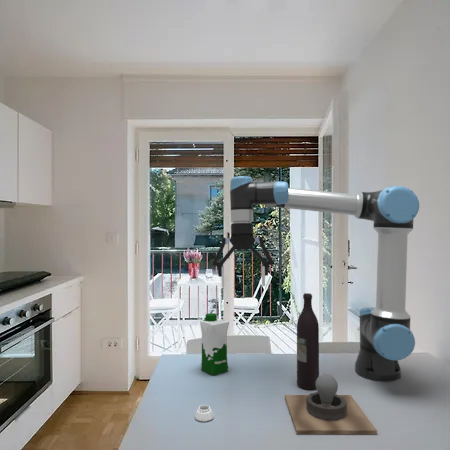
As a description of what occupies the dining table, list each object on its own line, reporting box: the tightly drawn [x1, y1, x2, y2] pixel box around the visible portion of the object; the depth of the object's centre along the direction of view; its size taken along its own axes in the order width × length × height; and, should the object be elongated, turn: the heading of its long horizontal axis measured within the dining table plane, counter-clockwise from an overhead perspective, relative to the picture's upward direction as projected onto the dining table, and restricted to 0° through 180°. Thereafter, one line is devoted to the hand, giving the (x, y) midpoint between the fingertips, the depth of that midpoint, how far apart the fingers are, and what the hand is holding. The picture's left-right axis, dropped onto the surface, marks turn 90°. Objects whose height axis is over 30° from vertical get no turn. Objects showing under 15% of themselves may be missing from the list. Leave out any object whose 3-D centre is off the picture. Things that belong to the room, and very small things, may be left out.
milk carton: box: [199, 312, 230, 377], centre depth 136 cm, size 9×9×20 cm
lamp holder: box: [284, 391, 378, 435], centre depth 103 cm, size 20×20×4 cm
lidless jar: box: [194, 404, 215, 423], centre depth 102 cm, size 5×3×5 cm
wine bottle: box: [296, 292, 320, 391], centre depth 122 cm, size 7×7×30 cm
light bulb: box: [315, 373, 339, 407], centre depth 103 cm, size 6×6×10 cm
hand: (243, 286), depth 125 cm, fingers open, 13 cm apart
